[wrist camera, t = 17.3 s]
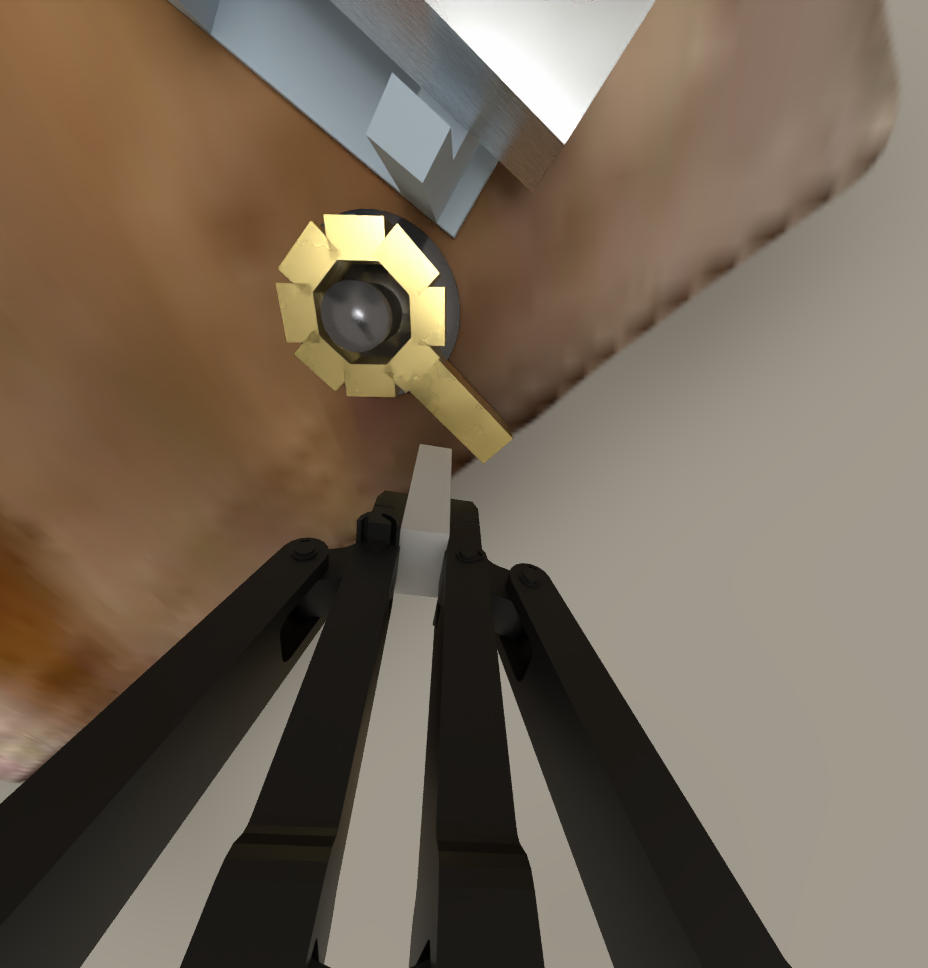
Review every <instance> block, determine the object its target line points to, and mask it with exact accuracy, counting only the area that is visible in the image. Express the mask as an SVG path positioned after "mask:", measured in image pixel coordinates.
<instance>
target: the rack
mask: <svg viewBox="0 0 928 968" xmlns="http://www.w3.org/2000/svg"><path fill="white" fill-rule="evenodd" d="M168 1H169V2H170V3H171V4H172V5H174V6H175V7H176V8H177V9H178V10H180V11H181V12H182V13H183V14H184V15H186V16H187V17H188V18H189V19H190V20H192V21H193V22H194V23H195V24H196V25H198V26H199V27H200V28H201V29H202V30H204V31H205V32H206V33H207V34H208V35H210V36H211V37H212V38H213V39H214V40H216V41H217V42H218V43H219V44H220V45H222V46H223V47H224V48H225V49H226V50H228V51H229V52H230V53H231V54H232V55H234V56H235V57H236V58H237V59H238V60H240V61H241V62H242V63H243V64H244V65H246V66H247V67H248V68H249V69H250V70H252V71H253V72H254V73H255V74H256V75H258V76H259V77H260V78H261V79H262V80H264V81H265V82H266V83H267V84H268V85H270V86H271V87H272V88H273V89H274V90H276V91H277V92H278V93H279V94H280V95H282V96H283V97H284V98H285V99H286V100H288V101H289V102H290V103H291V104H292V105H294V106H295V107H296V108H297V109H298V110H300V111H301V112H302V113H303V114H304V115H306V116H307V117H308V118H309V119H310V120H312V121H313V122H314V123H315V124H316V125H318V126H319V127H320V128H321V129H322V130H324V131H325V132H326V133H327V134H328V135H330V136H331V137H332V138H333V139H334V140H336V141H337V142H338V143H339V144H340V145H342V146H343V147H344V148H345V149H346V150H348V151H349V152H350V153H351V154H352V155H354V156H355V157H356V158H357V159H358V160H360V161H361V162H362V163H363V164H364V165H366V166H367V167H368V168H369V169H370V170H372V171H373V172H374V173H375V174H376V175H378V176H379V177H380V178H381V179H382V180H384V181H385V182H386V183H387V184H388V185H390V186H391V187H392V188H393V189H394V190H396V191H397V192H398V193H399V194H400V195H402V196H403V197H404V198H405V199H406V200H408V201H409V202H410V203H411V204H412V205H414V206H415V207H416V208H417V209H418V210H420V211H421V212H422V213H423V214H424V215H426V216H427V217H428V218H429V219H430V220H432V221H433V222H434V223H435V224H436V225H438V226H439V227H440V228H441V229H442V230H444V231H445V232H446V233H447V234H448V235H450V236H451V237H452V238H453V239H454V238H455V237H456V235H457V233H458V231H459V230H460V228H461V226H462V224H463V223H464V221H465V219H466V217H467V216H468V214H469V212H470V210H471V209H472V207H473V205H474V203H475V202H476V200H477V198H478V196H479V195H480V193H481V191H482V189H483V188H484V186H485V184H486V182H487V181H488V179H489V177H490V175H491V174H492V172H493V170H494V168H495V167H496V165H497V163H498V160H497V159H496V158H495V157H494V156H493V155H492V154H491V153H490V152H489V151H488V150H487V149H486V148H485V147H484V146H483V145H482V144H481V143H479V142H478V141H477V140H476V139H475V138H474V137H473V136H472V135H471V134H470V133H469V132H468V131H467V130H466V129H465V128H464V127H463V126H462V125H461V124H459V123H458V122H457V121H456V120H455V119H454V118H453V117H452V116H451V115H450V114H449V113H448V112H447V111H446V110H445V109H444V108H443V107H442V106H441V105H440V104H438V103H437V102H436V101H435V100H434V99H433V98H432V97H431V96H430V95H429V94H428V93H427V92H426V91H425V90H424V89H423V88H422V87H421V86H420V85H418V84H417V83H416V82H415V81H414V80H413V79H412V78H411V77H410V76H409V75H408V74H407V73H406V72H405V71H404V70H403V69H402V68H401V67H400V66H398V65H397V64H396V63H395V62H394V61H393V60H392V59H391V58H390V57H389V56H388V55H387V54H386V53H385V52H384V51H383V50H382V49H381V48H380V47H379V46H377V45H376V44H375V43H374V42H373V41H372V40H371V39H370V38H369V37H368V36H367V35H366V34H365V33H364V32H363V31H362V30H361V29H360V28H359V27H357V26H356V25H355V24H354V23H353V22H352V21H351V20H350V19H349V18H348V17H347V16H346V15H345V14H344V13H343V12H342V11H341V10H340V9H339V8H337V7H336V6H335V5H334V4H333V3H332V2H331V1H330V0H168Z"/></svg>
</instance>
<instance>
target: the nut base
mask: <svg viewBox="0 0 928 968" xmlns="http://www.w3.org/2000/svg"><path fill="white" fill-rule="evenodd" d="M338 215H361V216H384V217H385V218H386V219H387V220H388V221H389V222H390V223H391V224H392V225H393V226H394V227H395V225H396V224H398V225H399V226H400V227H401V228H402V229H403V230H404V231H405V232H406V233H407V235H408V236H409V237H410V238H411V239H412V241H413V242H414V243H415V244H416V245H417V246H418V248H419V249H420V250H421V251H422V252H423V253H424V255H425V256H426V257H427V258H428V259H429V261H430V262H431V263H432V264H433V265H434V266H435V268H436V269H437V270H438V271H439V272H440V273H441V275H442V277H441V278H440V279H439V280H438V281H437V282H436V283H435V284H434V286H433V287H445V288H447V341H446V344H445V346H439V347H440V348H441V349H442V350H443V351H442V355H443V356H444V357H445V358H446V359H447V360H448V358H449V356H450V355H451V353H452V350H453V348H454V345H455V342H456V338H457V335H458V329H459V322H460V303H459V295H458V291H457V286H456V283H455V280H454V277H453V274H452V272H451V270H450V267H449V265H448V263H447V261H446V259H445V258H444V256H443V255H442V253H441V252H440V250H439V249H438V247H437V246H436V245H435V244H434V243H433V241H432V240H431V239H430V238H429V237H428V236H427V235H426V234H425V233H424V232H423V231H421V230H420V229H419V228H418V227H416V226H415V225H413V224H412V223H411V222H409V221H407V220H405V219H403V218H401V217H399V216H397V215H394V214H391V213H389V212H385V211H380V210H375V209H358V210H351V211H347V212H344V213H340V214H338ZM321 226H323V227H325V223H322V224H321ZM291 283H292V282H291ZM321 318H322V322H323V325H324V328H325V330H326V332H327V334H328V335H329V336H330V338H331V339H332V340H333V341H334V342H335V343H336V344H337V345H339V346H340V347H342V348H344V349H346V350H349V351H352V352H359V353H360V354H361V355H362V356H382V357H394V356H395V355H396V354H397V353H398V352H399V351H400V350H401V348H402V347H403V346H404V345H405V344H406V343H407V342H408V341H409V340H410V339H411V319H410V295H409V294H408V293H407V292H406V290H405V289H404V288H403V287H402V286H401V285H400V284H399V283H398V282H397V281H396V279H395V278H394V277H393V276H392V275H391V274H390V273H389V272H388V271H387V269H386V268H385V267H384V266H383V265H370V264H353V265H352V266H351V267H350V268H349V270H348V271H347V272H346V274H345V275H344V276H343V278H342V279H341V280H340V281H339V282H338V283H336V284H334V285H333V286H331V287H330V288H329V289H328V291H327V292H326V293H325V295H324V297H323V300H322V304H321ZM344 385H345V384H344ZM408 392H410V391H409V390H408V391H407V392H406V393H408ZM404 393H405V392H404V391H403V390H402V389H400V391H399V392H398V394H397V395H400V394H404Z"/></svg>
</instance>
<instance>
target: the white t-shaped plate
mask: <svg viewBox="0 0 928 968" xmlns="http://www.w3.org/2000/svg"><path fill="white" fill-rule="evenodd" d="M330 1H331V2H332V3H333V4H334V5H335V6H336V7H337V8H339V9H340V10H341V11H342V12H343V13H344V14H345V15H346V16H347V17H348V18H349V19H350V20H351V21H352V22H353V23H354V24H355V25H356V26H357V27H359V28H360V29H361V30H362V31H363V32H364V33H365V34H366V35H367V36H368V37H369V38H370V39H371V40H372V41H373V42H374V43H375V44H376V45H377V46H379V47H380V48H381V49H382V50H383V51H384V52H385V53H386V54H387V55H388V56H389V57H390V58H391V59H392V60H393V61H394V62H395V63H396V64H397V65H398V66H400V67H401V68H402V69H403V70H404V71H405V72H406V73H407V74H408V75H409V76H410V77H411V78H412V79H413V80H414V81H415V82H416V83H417V84H418V85H420V86H421V87H422V88H423V89H424V90H425V91H426V92H427V93H428V94H429V95H430V96H431V97H432V98H433V99H434V100H435V101H436V102H437V103H438V104H440V105H441V106H442V107H443V108H444V109H445V110H446V111H447V112H448V113H449V114H450V115H451V116H452V117H453V118H454V119H455V120H456V121H457V122H458V123H459V124H461V125H462V126H463V127H464V128H465V129H466V130H467V131H468V132H469V133H470V134H471V135H472V136H473V137H474V138H475V139H476V140H477V141H478V142H479V143H481V144H482V145H483V146H484V147H485V148H486V149H487V150H488V151H489V152H490V153H491V154H492V155H493V156H494V157H495V158H496V159H497V160H498V161H499V162H501V163H502V164H503V165H504V166H505V167H506V168H507V169H508V170H509V171H510V172H511V173H512V174H513V175H514V176H515V177H516V178H517V179H518V180H519V181H520V182H522V183H523V184H524V185H525V186H526V187H527V188H528V189H529V190H530V191H531V192H533V190H534V189H535V187H536V186H537V184H538V183H539V181H540V180H541V178H542V177H543V176H544V174H545V173H546V171H547V170H548V168H549V167H550V165H551V164H552V162H553V161H554V159H555V158H556V157H557V155H558V154H559V152H560V151H561V149H562V148H563V146H564V145H565V143H566V142H567V140H568V139H569V137H570V135H571V134H572V132H573V131H574V129H575V127H576V126H577V124H578V123H579V121H580V119H581V118H582V116H583V115H584V113H585V112H586V110H587V108H588V107H589V105H590V104H591V102H592V100H593V99H594V97H595V96H596V94H597V92H598V91H599V89H600V88H601V86H602V85H603V83H604V81H605V80H606V78H607V77H608V75H609V73H610V72H611V70H612V69H613V67H614V65H615V64H616V62H617V61H618V59H619V58H620V56H621V54H622V53H623V51H624V50H625V48H626V46H627V45H628V43H629V42H630V40H631V38H632V37H633V35H634V34H635V32H636V31H637V29H638V27H639V26H640V24H641V23H642V21H643V19H644V18H645V16H646V15H647V13H648V11H649V10H650V8H651V7H652V5H653V4H654V2H655V0H330Z"/></svg>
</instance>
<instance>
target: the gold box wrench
mask: <svg viewBox="0 0 928 968" xmlns="http://www.w3.org/2000/svg"><path fill="white" fill-rule="evenodd" d="M323 215H324V223H325V227H323V226H321V225H319V224H317V223H315V222H313V221H310V223H309V224H308V226H307V227H306V229H305V230H304V231H303V233H302V234H301V236H300V237H299V239H298V240H297V242H296V243H295V244H294V246H293V247H292V249H291V250H290V252H289V253H288V255H287V256H286V257H285V259H284V260H283V262H282V263H281V265H280V266H279V268H278V269H279V270H280V271H281V272H282V273H283V274H284V275H285V276H286V277H287V278H288V279H289V280H290V281H291V282H292V283H276V289H277V294H278V299H279V304H280V309H281V314H282V319H283V325H284V330H285V335H286V340H287V342H301V343H302V345H301V346H300V347H299V349H298V350H297V351H296V352H295V354H294V355H295V356H296V357H297V358H299V359H300V360H301V361H302V362H303V363H304V364H305V365H306V366H308V367H309V368H310V369H311V370H312V371H313V372H314V373H315V374H316V375H318V376H319V377H320V378H321V379H322V380H323V381H324V382H325V383H327V384H328V385H329V386H330V387H331V388H332V389H333V390H334V391H337V390H338V389H339V388H341V387H342V386H343V385H344V384H345V386H346V394H347V396H362V397H396V396H397V394H398V392H399V391H400V389H402V390H403V391H404V392H405V393H406V392H407V391H408V390H409V391H410V392H411V393H412V394H413V395H414V396H415V397H416V398H417V399H418V400H419V401H420V402H421V403H422V404H423V405H424V406H425V407H426V408H427V409H428V410H429V411H430V412H431V413H432V414H433V415H434V416H435V417H436V418H437V419H438V420H439V421H440V422H441V423H442V424H443V425H444V426H445V427H447V428H448V429H449V430H450V431H451V432H452V433H453V434H454V435H455V436H456V437H457V438H458V439H459V440H460V441H461V442H462V443H463V444H464V445H465V446H466V447H467V448H468V449H469V450H470V451H471V452H472V453H473V454H474V455H475V456H476V457H477V458H478V459H479V460H480V461H481V462H482V463H483V464H484V463H485V462H486V461H487V460H489V459H490V458H491V457H492V456H493V455H494V454H495V453H497V452H498V451H499V450H500V449H501V448H503V447H504V446H505V445H506V444H507V443H509V442H510V441H511V440H512V439H513V437H512V434H511V432H510V429H509V426H508V425H507V424H506V423H505V422H504V420H503V419H502V418H501V417H500V416H499V415H498V414H497V413H496V412H495V411H494V410H493V409H492V408H491V407H490V405H489V404H488V403H487V402H486V401H485V400H484V399H483V398H482V397H481V396H480V395H479V394H478V393H477V392H476V390H475V389H474V388H473V387H472V386H471V385H470V384H469V383H468V382H467V381H466V380H465V379H464V378H463V377H462V376H461V374H460V373H459V372H458V371H457V370H456V369H455V368H454V367H453V366H452V365H451V364H450V363H449V362H448V361H447V359H446V358H445V357H444V356H443V355H442V351H443V350H442V349H441V348H440V347H439V346H445V344H446V341H447V288H445V287H433V286H434V284H435V283H436V282H437V281H438V280H439V279H440V278H441V277H442V275H441V273H440V272H439V271H438V270H437V269H436V268H435V266H434V265H433V264H432V263H431V262H430V261H429V259H428V258H427V257H426V256H425V255H424V253H423V252H422V251H421V250H420V249H419V248H418V246H417V245H416V244H415V243H414V242H413V241H412V239H411V238H410V237H409V236H408V235H407V233H406V232H405V231H404V230H403V229H402V228H401V227H400V226H399V225H398V224H396V225H395V227H394V226H393V225H392V224H391V223H390V222H389V221H388V220H387V219H386V218H385V217H384V216H361V215H328V214H323ZM353 264H370V265H383V266H384V267H385V268H386V269H387V271H388V272H389V273H390V274H391V275H392V276H393V277H394V278H395V279H396V281H397V282H398V283H399V284H400V285H401V286H402V287H403V288H404V289H405V290H406V292H407V293H408V294H409V295H410V319H411V339H410V340H409V341H408V342H407V343H406V344H405V345H404V346H403V347H402V348H401V350H400V351H399V352H398V353H397V354H396V355H395V356H394V357H382V356H362V355H361V354H360V353H359V352H352V351H349V350H346V349H344V348H342V347H340V346H339V345H337V344H336V343H335V342H334V341H333V340H332V339H331V338H330V336H329V335H328V334H327V332H326V330H325V328H324V325H323V322H322V318H321V304H322V300H323V297H324V295H325V293H326V292H327V291H328V289H329V288H330V287H331V286H333V285H334V284H336V283H338V282H339V281H340V280H341V279H342V278H343V276H344V275H345V274H346V272H347V271H348V270H349V268H350V267H351V266H352V265H353Z"/></svg>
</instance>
